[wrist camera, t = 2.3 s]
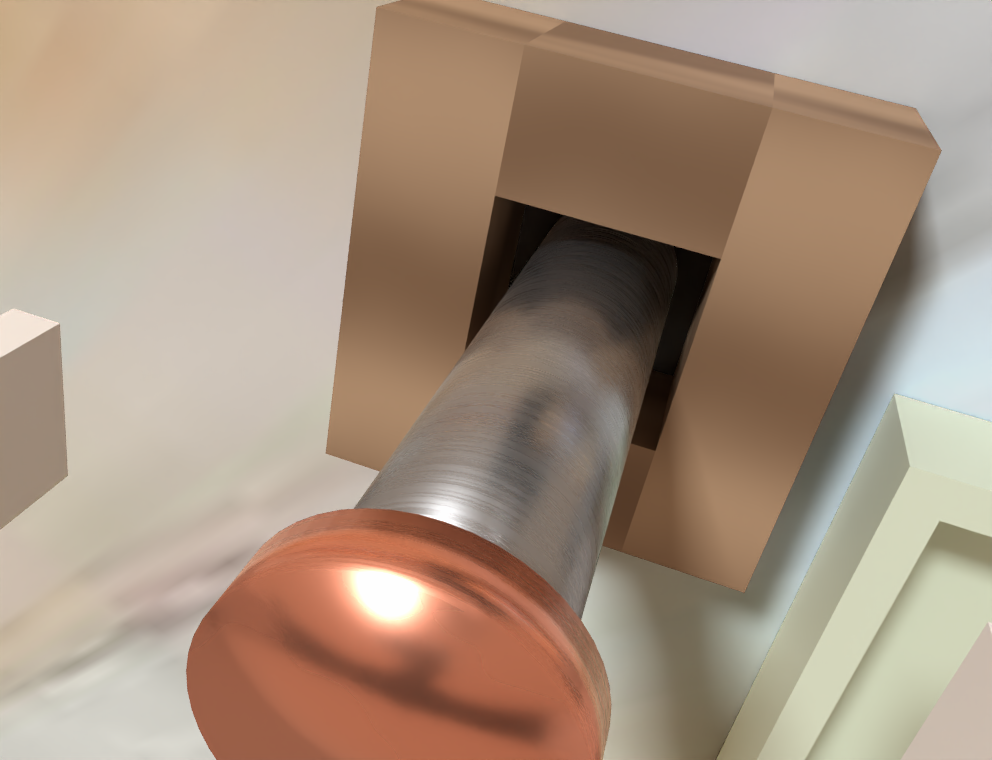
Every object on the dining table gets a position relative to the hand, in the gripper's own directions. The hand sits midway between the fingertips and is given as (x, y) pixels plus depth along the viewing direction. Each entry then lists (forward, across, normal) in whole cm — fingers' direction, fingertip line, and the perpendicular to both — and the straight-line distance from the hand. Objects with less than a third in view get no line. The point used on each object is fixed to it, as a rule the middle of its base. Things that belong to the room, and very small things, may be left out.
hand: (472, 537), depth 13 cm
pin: (+10, 0, 0) cm, 10 cm away
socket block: (+10, 0, 0) cm, 10 cm away
